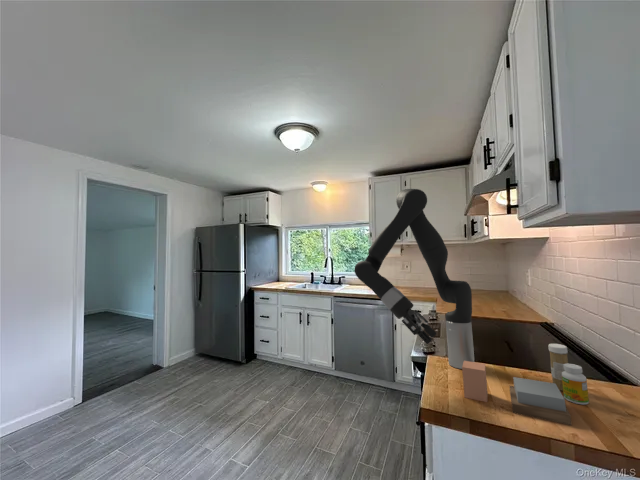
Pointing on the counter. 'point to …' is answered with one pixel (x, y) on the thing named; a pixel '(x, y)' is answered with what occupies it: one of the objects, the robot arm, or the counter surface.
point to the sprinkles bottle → (558, 363)
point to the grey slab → (539, 394)
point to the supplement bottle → (574, 384)
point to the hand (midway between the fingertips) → (432, 338)
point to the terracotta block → (474, 381)
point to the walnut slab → (539, 410)
